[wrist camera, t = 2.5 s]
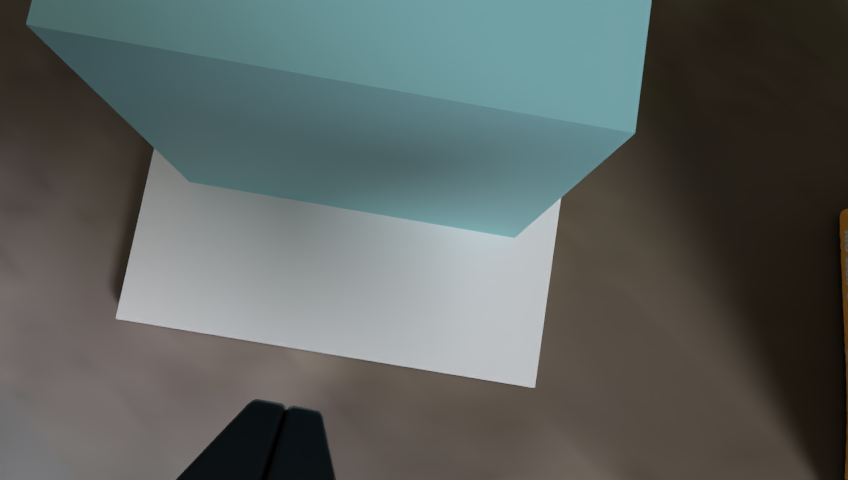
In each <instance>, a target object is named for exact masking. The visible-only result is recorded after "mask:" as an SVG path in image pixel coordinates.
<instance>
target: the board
mask: <svg viewBox="0 0 848 480" xmlns="http://www.w3.org/2000/svg"><path fill="white" fill-rule="evenodd" d="M560 202H561V198H560V199H559V200H558V201H557V202H555V203H554V204H553V205H552V206H551V207H550V208H549V209H547V210H546V211H545V212H544V213H543V214H542V215H540V216H539V217H538V218H537V219H536V220H535V221H534V222H532V223H531V224H530V225H529V226H528V227H527V228H526V229H524V230H523V231H522V232H521V233H520V234H519V235H517V236H516V237H515V238H512V237H506V236H500V235H494V234H488V233H483V232H477V231H471V230H465V229H459V228H454V227H448V226H442V225H436V224H430V223H425V222H419V221H413V220H407V219H401V218H396V217H390V216H384V215H378V214H372V213H367V212H361V211H355V210H349V209H343V208H338V207H332V206H326V205H320V204H314V203H309V202H303V201H297V200H291V199H285V198H280V197H274V196H268V195H262V194H256V193H251V192H245V191H239V190H233V189H227V188H222V187H216V186H210V185H204V184H198V183H193V182H189V181H188V180H187V179H186V178H185V177H184V176H183V175H182V174H181V173H180V172H179V171H177V170H176V169H175V168H174V167H173V166H172V165H171V164H170V163H169V162H168V161H167V160H166V159H165V158H164V157H163V156H162V155H161V154H160V153H159V152H158V151H157V150H156V149H155V148H154V151H153V155H152V160H151V164H150V168H149V173H148V177H147V182H146V186H145V190H144V195H143V199H142V204H141V208H140V213H139V217H138V221H137V226H136V230H135V235H134V239H133V244H132V248H131V252H130V257H129V261H128V266H127V270H126V275H125V279H124V283H123V288H122V292H121V297H120V301H119V305H118V310H117V314H116V319H120V320H126V321H132V322H138V323H145V324H151V325H157V326H163V327H169V328H175V329H181V330H187V331H193V332H199V333H205V334H211V335H217V336H223V337H229V338H235V339H241V340H247V341H253V342H259V343H265V344H271V345H278V346H284V347H290V348H296V349H302V350H308V351H314V352H320V353H326V354H332V355H338V356H344V357H350V358H356V359H362V360H368V361H374V362H380V363H386V364H392V365H398V366H404V367H411V368H417V369H423V370H429V371H435V372H441V373H447V374H453V375H459V376H465V377H471V378H477V379H483V380H489V381H495V382H501V383H507V384H513V385H519V386H525V387H531V388H535V382H536V375H537V368H538V361H539V354H540V346H541V339H542V332H543V325H544V317H545V310H546V303H547V296H548V288H549V281H550V274H551V267H552V259H553V252H554V245H555V238H556V230H557V223H558V216H559V209H560Z"/></svg>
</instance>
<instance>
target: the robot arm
mask: <svg viewBox="0 0 848 480" xmlns="http://www.w3.org/2000/svg"><path fill="white" fill-rule="evenodd" d="M176 480H336V478H335V473H334V468H333V463H332V458H331V453H330V448H329V443H328V438H327V432H326V427H325V422H324V418H323V415H322V413H321V412H320V411H318V410H314V409H308V408H303V407H298V406H291V407H289V408H288V409H286V406H285V405H283V404H281V403H276V402H271V401H265V400H260V399H255V400H253V401H251V402H250V403H249V404H247V405H246V407H245V408H244V409H243V410H242V411H241V412H240V413H239V414H238V415H237V416H236V417H235V418H234V419H233V420H232V421H231V422H230V423H229V424H228V425H227V426H226V428H225V429H224V430H223V431H222V432H221V433H220V434H219V435H218V436H217V437H216V438H215V439H214V440H213V441H212V442H211V443H210V444H209V445H208V446H207V448H206V449H205V450H204V451H203V452H202V453H201V454H200V455H199V456H198V457H197V458H196V459H195V460H194V461H193V462H192V463H191V464H190V465H189V466H188V468H187V469H186V470H185V471H184V472H183V473H182V474H181V475H180V476H179V477H178V478H177V479H176Z"/></svg>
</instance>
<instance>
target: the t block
mask: <svg viewBox="0 0 848 480" xmlns="http://www.w3.org/2000/svg"><path fill="white" fill-rule="evenodd" d="M651 2H652V0H32V2H31V6H30V10H29V14H28V18H27V21H26V25H27V26H28V27H29V28H30V29H31V30H32V31H33V32H34V33H35V34H36V35H37V36H38V37H39V38H40V39H41V40H42V41H43V42H44V43H45V44H46V45H48V46H49V47H50V48H51V49H52V50H53V51H54V52H55V53H56V54H57V55H58V56H59V57H60V58H61V59H62V60H63V61H64V62H65V63H66V64H67V65H68V66H69V67H70V68H71V69H72V70H74V71H75V72H76V73H77V74H78V75H79V76H80V77H81V78H82V79H83V80H84V81H85V82H86V83H87V84H88V85H89V86H90V87H91V88H92V89H93V90H94V91H95V92H96V93H97V94H98V95H100V96H101V97H102V98H103V99H104V100H105V101H106V102H107V103H108V104H109V105H110V106H111V107H112V108H113V109H114V110H115V111H116V112H117V113H118V114H119V115H120V116H121V117H122V118H123V119H124V120H126V121H127V122H128V123H129V124H130V125H131V126H132V127H133V128H134V129H135V130H136V131H137V132H138V133H139V134H140V135H141V136H142V137H143V138H144V139H145V140H146V141H147V142H148V143H149V144H150V145H152V146H153V147H154V148H155V149H156V150H157V151H158V152H159V153H160V154H161V155H162V156H163V157H164V158H165V159H166V160H167V161H168V162H169V163H170V164H171V165H172V166H173V167H174V168H175V169H176V170H177V171H179V172H180V173H181V174H182V175H183V176H184V177H185V178H186V179H187V180H188V181H189V182H193V183H198V184H204V185H210V186H216V187H222V188H227V189H233V190H239V191H245V192H251V193H256V194H262V195H268V196H274V197H280V198H285V199H291V200H297V201H303V202H309V203H314V204H320V205H326V206H332V207H338V208H343V209H349V210H355V211H361V212H367V213H372V214H378V215H384V216H390V217H396V218H401V219H407V220H413V221H419V222H425V223H430V224H436V225H442V226H448V227H454V228H459V229H465V230H471V231H477V232H483V233H488V234H494V235H500V236H506V237H512V238H515V237H516V236H517V235H519V234H520V233H521V232H522V231H523V230H524V229H526V228H527V227H528V226H529V225H530V224H531V223H532V222H534V221H535V220H536V219H537V218H538V217H539V216H540V215H542V214H543V213H544V212H545V211H546V210H547V209H549V208H550V207H551V206H552V205H553V204H554V203H555V202H557V201H558V200H559V199H560V198H561V197H562V196H564V195H565V194H566V193H567V192H568V191H569V190H570V189H572V188H573V187H574V186H575V185H576V184H577V183H578V182H580V181H581V180H582V179H583V178H584V177H585V176H587V175H588V174H589V173H590V172H591V171H592V170H593V169H595V168H596V167H597V166H598V165H599V164H600V163H602V162H603V161H604V160H605V159H606V158H607V157H608V156H610V155H611V154H612V153H613V152H614V151H615V150H616V149H618V148H619V147H620V146H621V145H622V144H623V143H625V142H626V141H627V140H628V139H629V138H630V137H631V136H633V135H634V134H635V131H636V123H637V115H638V107H639V99H640V91H641V83H642V74H643V66H644V58H645V50H646V42H647V34H648V26H649V18H650V10H651Z"/></svg>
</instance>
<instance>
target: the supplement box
mask: <svg viewBox="0 0 848 480" xmlns="http://www.w3.org/2000/svg"><path fill="white" fill-rule="evenodd" d="M840 239H841V244H840V248H841V267H842V295H843V315H844V334H845V338H844V341H845V355H846V383H847V385H846V391H847V426H846V436H847V439H846V463H845V480H848V209H845V210H843V211H842V212H841V214H840Z"/></svg>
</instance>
